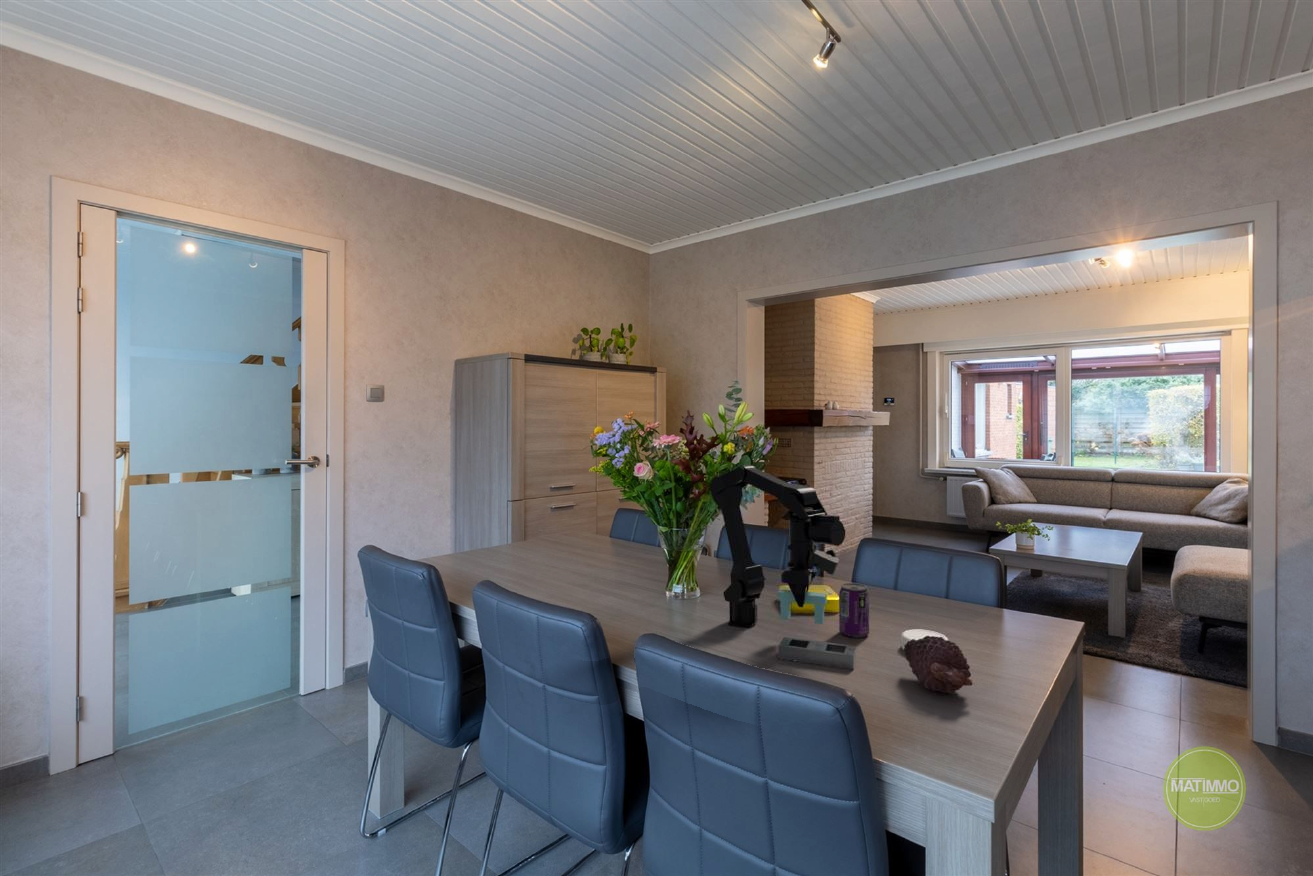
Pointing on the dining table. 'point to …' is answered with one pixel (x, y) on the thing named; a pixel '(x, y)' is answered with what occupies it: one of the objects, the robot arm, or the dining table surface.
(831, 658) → the grey slotted base block
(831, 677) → the dining table surface
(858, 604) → the beverage can
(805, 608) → the element tile
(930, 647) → the pine cone
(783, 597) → the clip
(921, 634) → the coaster
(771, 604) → the dining table surface
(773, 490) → the robot arm
